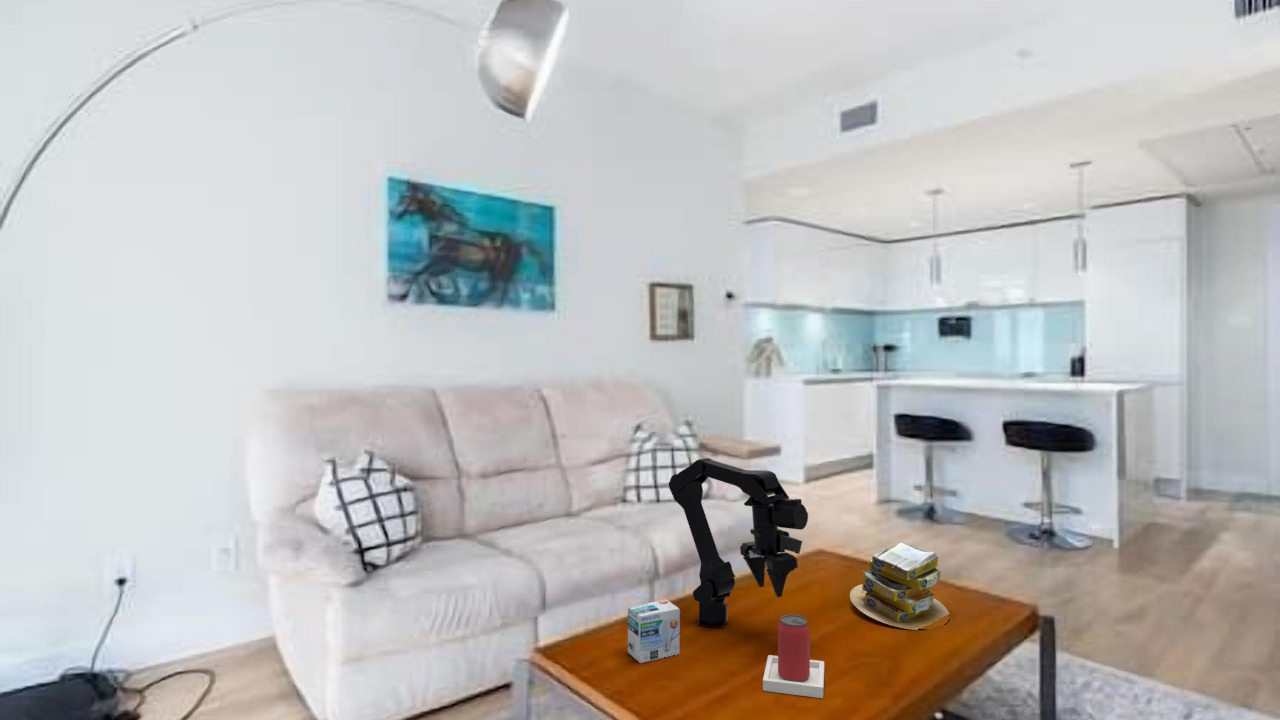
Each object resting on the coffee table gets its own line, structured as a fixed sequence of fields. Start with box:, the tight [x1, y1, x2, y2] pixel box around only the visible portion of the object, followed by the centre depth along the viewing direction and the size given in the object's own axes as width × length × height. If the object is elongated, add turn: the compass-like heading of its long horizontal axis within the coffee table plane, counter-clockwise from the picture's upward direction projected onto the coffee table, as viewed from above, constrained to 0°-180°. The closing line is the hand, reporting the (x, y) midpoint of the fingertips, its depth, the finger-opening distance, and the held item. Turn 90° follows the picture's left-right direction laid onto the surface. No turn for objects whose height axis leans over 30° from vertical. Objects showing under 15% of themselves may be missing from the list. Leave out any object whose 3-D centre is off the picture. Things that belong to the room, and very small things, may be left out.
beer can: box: [777, 614, 811, 682], centre depth 148 cm, size 7×7×12 cm
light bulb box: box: [627, 599, 681, 664], centre depth 161 cm, size 11×7×11 cm, turn 117°
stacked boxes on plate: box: [849, 542, 950, 631], centre depth 186 cm, size 25×25×17 cm
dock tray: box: [762, 654, 825, 699], centre depth 148 cm, size 12×12×2 cm
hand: (770, 591), depth 166 cm, fingers open, 9 cm apart
